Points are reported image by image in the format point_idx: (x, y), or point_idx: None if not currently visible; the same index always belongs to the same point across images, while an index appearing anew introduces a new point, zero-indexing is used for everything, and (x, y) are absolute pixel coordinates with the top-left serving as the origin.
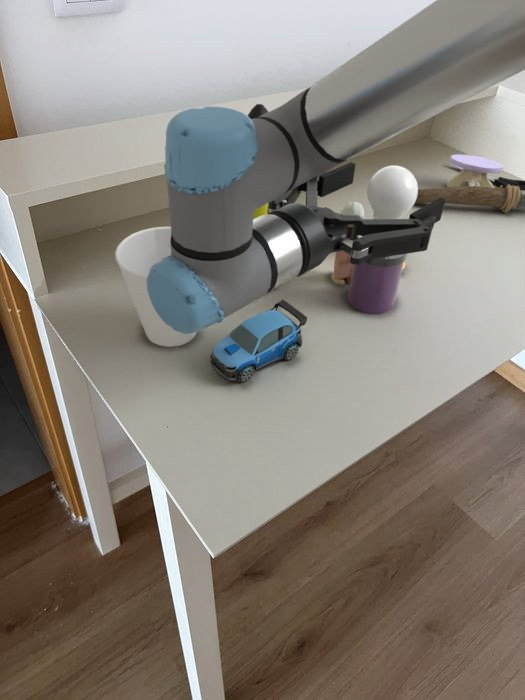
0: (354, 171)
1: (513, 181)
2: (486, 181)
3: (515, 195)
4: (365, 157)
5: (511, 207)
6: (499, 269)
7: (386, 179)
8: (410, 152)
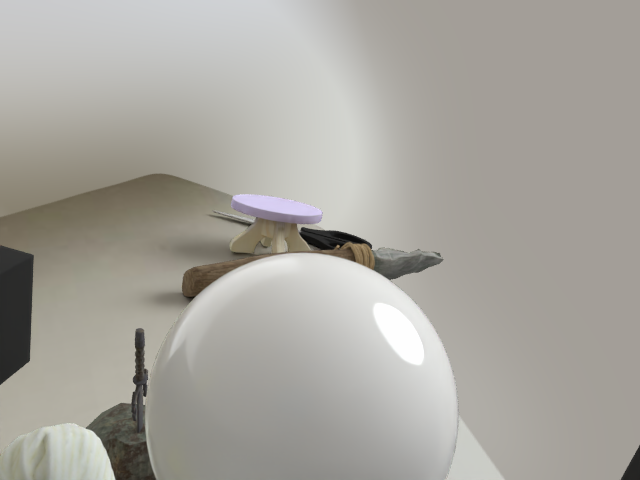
0: (31, 298)
1: (325, 233)
2: (298, 238)
3: (367, 261)
4: (55, 206)
5: None
6: None
7: (314, 372)
8: (140, 194)
